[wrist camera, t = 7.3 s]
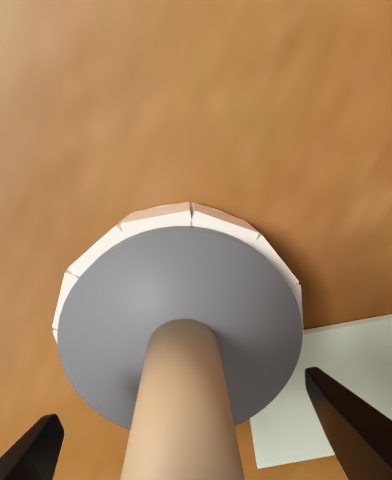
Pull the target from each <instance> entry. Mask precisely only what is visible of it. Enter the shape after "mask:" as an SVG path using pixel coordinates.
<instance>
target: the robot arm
mask: <svg viewBox="0 0 392 480" xmlns="http://www.w3.org/2000/svg"><path fill="white" fill-rule="evenodd" d="M305 386H306V390H307V393H308V396H309V398H310V400H311V403H312V405H313V407H314V409H315V412H316V414H317V416H318V419H319V421H320V423H321V426H322V428H323V430H324V433H325V435H326V437H327V439H328V442H329V444H330V446H331V447H332V449H333V451H334V453H335V455H336V457H337V459H338V461H339V462H340V464H341V466H342V468H343V470H344V472H345V473H346V475H347V477H348V479H349V480H392V420H391V419H389V418H388V417H387V416H385V415H384V414H382V413H381V412H380V411H378V410H377V409H375V408H374V407H373V406H371V405H370V404H368V403H367V402H366V401H364V400H363V399H361V398H360V397H359V396H357V395H356V394H354V393H353V392H352V391H350V390H349V389H347V388H346V387H345V386H343V385H342V384H340V383H339V382H338V381H336V380H335V379H334V378H332V377H331V376H329V375H328V374H327V373H325V372H324V371H322V370H321V369H320V368H318V367H309V368H306V369H305ZM63 438H64V429H63V427H62V425H61V422H60V420H59V418H58V416H57V415H56V414H50V415H45V416H43V417H42V418H40V419H39V420H38V421H37V422H36V423H35V424H34V425H33V426H32V427H31V428H30V429H29V430H28V431H27V432H26V433H25V434H24V435H23V436H22V437H21V438H20V439H19V440H18V441H17V442H16V443H15V444H14V445H13V446H12V447H11V448H10V449H9V450H8V451H7V452H6V453H5V454H4V455H3V456H2V457H1V458H0V480H52V479H53V476H54V472H55V468H56V464H57V461H58V457H59V453H60V449H61V446H62V442H63Z"/></svg>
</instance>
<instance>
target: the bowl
mask: <svg viewBox="0 0 392 480" xmlns="http://www.w3.org/2000/svg"><path fill="white" fill-rule="evenodd" d="M170 226H195V227H203V228H209V229H213V230H217V231H220V232H224V233H227V234H229V235H231V236H234V237H236V238H238V239H240V240H242V241H244V242H245V243H247V244H249V245H250V246H252V247H253V248H255V249H256V250H257V251H258V252H260V253H261V254H262V255H263V256H265V258H266V259H267V260H268V261H269V262H270V263H271V264H272V265H273V266H274V267H275V268H276V269H277V270H278V272H279V273H280V274H281V275H282V276H283V277H284V279H285V280H286V282H287V283H288V285H289V286H290V288H291V290H292V292H293V294H294V296H295V298H296V300H297V303H298V306H299V309H300V313H301V319H302V326H303V314H302V297H301V285H300V284H299V281H298V280H297V278H296V277H295V276H294V275H293V273H292V272H291V271H290V270H289V268H288V267H287V266H286V264H285V263H284V262H283V261H282V259H281V258H280V257H279V256H278V254H277V253H276V252H275V251H274V249H273V248H272V247H271V246H270V244H269V243H268V242H267V240H266V239H265V238H264V237H263V235H261V234H260V233H259V232H258V231H257V230H256V229H254V228H253V227H252V226H251V225H250V224H249V223H247V222H246V221H245V220H242V219H239V218H236V217H234V216H231V215H230V214H228V213H225V212H223V211H221V210H218V209H216V208H212V207H209V206H205V205H200V204H197V203H194V202H192V203H189V202H184V203H172V204H163V205H159V206H155V207H151V208H148V209H145V210H141V211H136V212H132V213H131V214H128V215H127V216H126V217H125V218H124V219H123V220H121V221H120V222H119V223H118V224H117V225H116V226H114V227H113V228H112V229H111V230H110V231H109V232H108V233H107V234H105V235H104V236H103V237H102V238H101V239H100V240H99V241H98V242H96V243H95V244H94V245H93V246H92V247H91V248H90V249H89V250H88V251H86V252H85V253H84V254H83V255H82V256H81V257H80V258H79V259H77V260H76V261H75V262H74V263H73V264H72V265H71V266H70V267H68V268H67V269H68V270H67V271H66V272H65V274H64V278H63V282H62V287H61V291H60V295H59V300H58V304H57V308H56V312H55V317H54V321H53V325H52V328H55V329H54V330H53V331H52V332H53V335H54V337H55V339H56V342H57V330H58V323H59V317H60V314H61V311H62V308H63V305H64V302H65V300H66V298H67V296H68V294H69V292H70V290H71V288H72V287H73V286H74V284H75V283H76V282H77V280H78V279H79V277H80V276H81V275H82V274H83V273H84V272H85V271H86V270H87V269H88V268H89V267H90V266H91V265H92V264H93V263H94V262H95V261H96V259H97V258H98V257H99V256H100V255H102V254H103V253H104V252H106V251H107V250H108V249H110V248H111V247H112V246H114V245H116V244H117V243H119V242H121V241H123V240H125V239H126V238H129V237H131V236H134V235H136V234H139V233H141V232H144V231H148V230H152V229H156V228H162V227H170ZM303 338H304V331H303ZM302 343H303V341H302Z"/></svg>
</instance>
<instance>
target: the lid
mask: <svg viewBox="0 0 392 480" xmlns="http://www.w3.org/2000/svg"><path fill="white" fill-rule="evenodd" d="M302 339H303V326H302V319H301V313H300V309H299V306H298V303H297V300H296V298H295V296H294V294H293V292H292V290H291V288H290V286H289V285H288V283H287V282H286V280H285V279H284V277H283V276H282V275H281V274H280V273H279V272H278V270H277V269H276V268H275V267H274V266H273V265H272V264H271V263H270V262H269V261H268V260H267V259H266V258H265V256H263V255H262V254H261V253H260V252H258V251H257V250H256V249H255V248H253V247H252V246H250V245H249V244H247V243H245V242H244V241H242V240H240V239H238V238H236V237H234V236H231V235H229V234H227V233H224V232H220V231H217V230H213V229H209V228H203V227H195V226H170V227H162V228H156V229H152V230H148V231H144V232H141V233H139V234H136V235H134V236H131V237H129V238H126V239H125V240H123V241H121V242H119V243H117V244H116V245H114V246H112V247H111V248H110V249H108V250H107V251H106V252H104V253H103V254H102V255H100V256H99V257H98V258H97V259H96V261H95V262H94V263H93V264H92V265H91V266H90V267H89V268H88V269H87V270H86V271H85V272H84V273H83V274H82V275H81V276H80V277H79V279H78V280H77V282H76V283H75V284H74V286H73V287H72V288H71V290H70V292H69V294H68V296H67V298H66V300H65V302H64V305H63V308H62V311H61V314H60V317H59V323H58V330H57V345H58V351H59V357H60V361H61V364H62V367H63V370H64V372H65V374H66V376H67V378H68V380H69V382H70V384H71V385H72V386H73V388H74V389H75V391H76V392H77V394H78V395H79V396H80V397H81V398H82V399H83V400H84V401H85V402H86V403H87V404H88V405H89V406H90V407H91V408H92V409H94V410H95V411H96V412H97V413H99V414H100V415H102V416H103V417H105V418H106V419H108V420H109V421H111V422H113V423H115V424H117V425H119V426H121V427H124V428H126V429H129V430H130V435H129V440H128V445H127V450H126V455H125V460H124V465H123V470H122V474H121V479H120V480H244V474H243V469H242V464H241V459H240V454H239V449H238V444H237V439H236V433H235V428H234V426H236V425H238V424H240V423H242V422H244V421H246V420H248V419H249V418H251V417H253V416H254V415H256V414H257V413H258V412H260V411H261V410H263V409H264V408H265V407H266V406H267V405H268V404H270V403H271V402H272V401H273V400H274V399H275V398H276V397H277V395H278V394H279V393H280V392H281V391H282V390H283V388H284V387H285V385H286V384H287V382H288V381H289V379H290V378H291V376H292V374H293V372H294V370H295V368H296V365H297V362H298V359H299V356H300V352H301V346H302Z"/></svg>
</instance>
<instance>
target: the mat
mask: <svg viewBox="0 0 392 480" xmlns="http://www.w3.org/2000/svg"><path fill="white" fill-rule="evenodd" d="M303 331H304V338H303V339H302V341H303V343H302V346H301V352H300V356H299V359H298V362H297V365H296V368H295V370H294V372H293V374H292V376H291V378H290V379H289V381H288V382H287V384H286V385H285V387H284V388H283V390H282V391H281V392H280V393H279V394H278V395H277V397H276V398H275V399H274V400H273V401H272V402H271V403H270V404H268V405H267V406H266V407H265V408H264V409H263V410H261V411H260V412H258V413H257V414H256V415H254V416H253V417H251V418H249V419H250V425H251V432H252V438H253V445H254V451H255V458H256V464H257V468H258V469H260V468H265V467H271V466H276V465H282V464H288V463H293V462H299V461H304V460H310V459H315V458H321V457H326V456H332V455H335V453H334V451H333V449H332V447H331V446H330V444H329V442H328V439H327V437H326V435H325V433H324V430H323V428H322V426H321V423H320V421H319V419H318V416H317V414H316V412H315V409H314V407H313V405H312V403H311V400H310V398H309V396H308V393H307V390H306V386H305V369H306V368H309V367H318V368H320V369H321V370H322V371H324V372H325V373H327V374H328V375H329V376H331V377H332V378H334V379H335V380H336V381H338V382H339V383H340V384H342V385H343V386H345V387H346V388H347V389H349V390H350V391H352V392H353V393H354V394H356V395H357V396H359V397H360V398H361V399H363V400H364V401H366V402H367V403H368V404H370V405H371V406H373V407H374V408H375V409H377V410H378V411H380V412H381V413H382V414H384V415H385V416H387V417H388V418H389V419H391V420H392V314H389V315H383V316H378V317H372V318H367V319H361V320H356V321H350V322H345V323H340V324H334V325H329V326H323V327H318V328H312V329H307V330H303Z"/></svg>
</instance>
